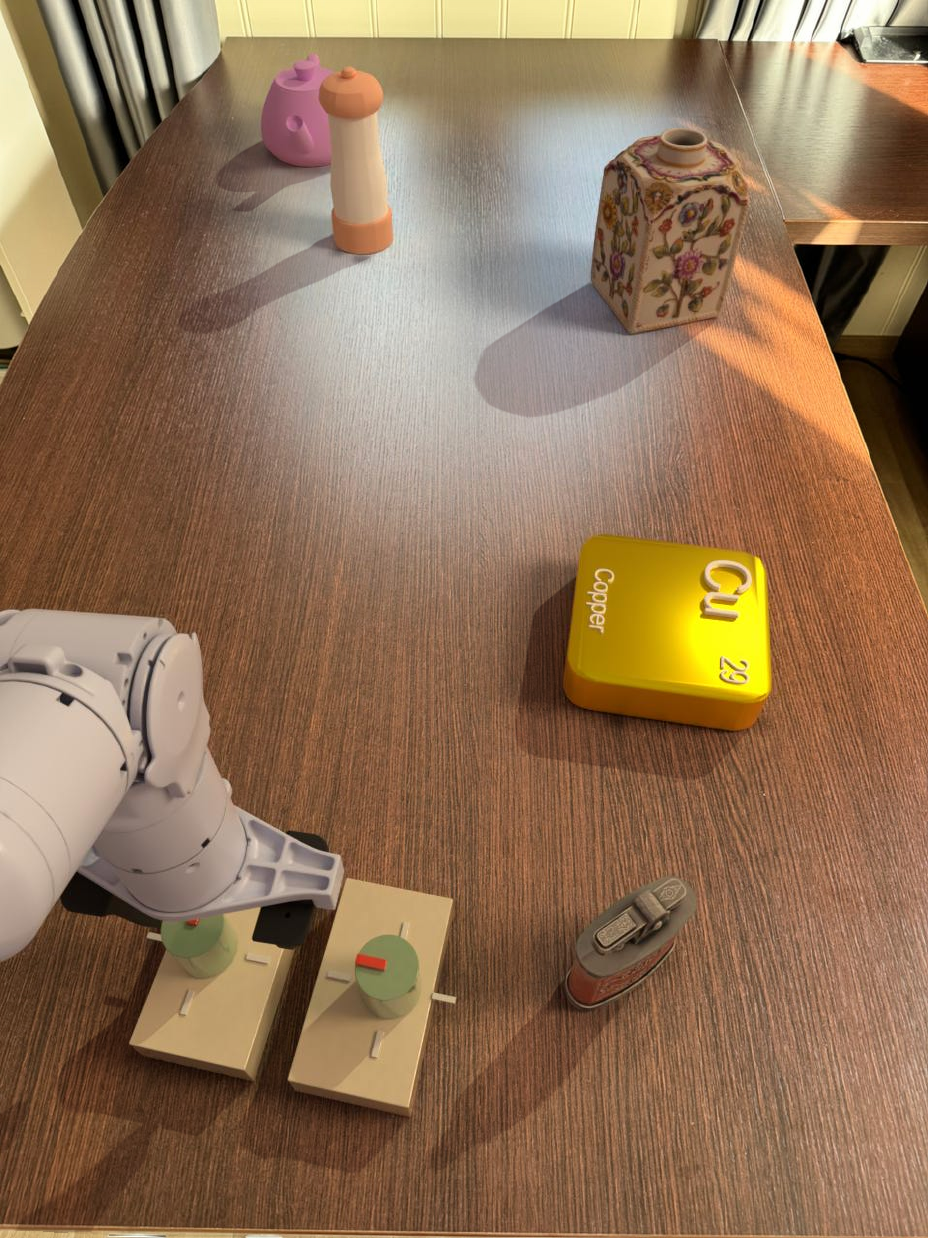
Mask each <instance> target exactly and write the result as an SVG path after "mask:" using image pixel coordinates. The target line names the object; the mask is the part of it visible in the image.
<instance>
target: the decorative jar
mask: <svg viewBox="0 0 928 1238" xmlns="http://www.w3.org/2000/svg"><path fill="white" fill-rule="evenodd" d="M741 163H742V162H741V161H740V160H739V159H738V158H737V157H736V156H735V155H734V154H733V153H732V152H731V151H730V150H729V149H728V148H727V147H725V146H724V145H723V144H721V143H720V142H717V141H714V140H709V139H708V137H707V136H706V135H705V134H704V133H703V132H701V131H699V130H696V129H693V128H687V127H672V128H668V129H665V130H663V131H662V132H661V133H660V135H659V134H658V135H651V136H643V137H640V138H638V139H636V140H635V141H634V142H633V143H631V145H629V146H627V148H626V149H624V150H622V151H620V152H619V153H618V154H617V155H616V156H615V157H614V159H612V160H610V161H608V163H607V164H606V165H605V166H604V168H603V175H602V180H601V187H600V194H599V201H598V202H599V203H598V208H597V215H596V222H595V228H594V229H595V230H594V237H593V247H592V257H591V265H590V277H589V278H590V282H591V284H592V285H593V287H595V289H596V290H597V292H598V293H599V294H600V296H601V297H602V299H603V300H604V301H605V303H606V304H607V305H608V307H609V308H610V310H611V311H612V312H613V314H614V315H615V316H616V317H617V319H618V320H619V321H620V323H621V325H622V326H623V327H624V328H625V330H626V331H627V332H628V333H629V334H630V335H634V334H640V333H643V332H650V331H655V330H660V329H666V328H671V327H677V326H680V325H686V324H689V323H694V322H699V321H704V320H709V319H715V318H718V317H719V316H720V315H721V314H722V311H723V309H724V305H725V302H726V298H727V296H728V292H729V288H730V285H731V281H732V278H733V272H734V269H735V264H736V260H737V256H738V253H739V250H740V249H739V248H740V246H741V241H742V237H743V233H744V229H745V226H746V221H747V217H748V212H749V208H750V203H751V196H750V194H749V189H748V184H747V183H748V182H747V181H746V179H745V175H744V172H743V167H742V164H741Z"/></svg>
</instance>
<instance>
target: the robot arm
mask: <svg viewBox="0 0 928 1238" xmlns="http://www.w3.org/2000/svg"><path fill="white" fill-rule="evenodd" d="M203 673H204V671H203V658H202V651H201V647H200V642H199V638H198V635H197V633H196V631H194V632H192V633H191V635H189V633H182V632H180V633H178V632H177V629H176V628H175V627H174V625H173V624H172V623H171V622H170V621H169V620H168V619H167V618H165V617H155V616H143V615H130V614H129V615H128V614H116V613H99V612H85V611H75V610H59V609H58V610H57V609H44V608H27V609H23V610H19V609H13V608H12V609H11V608H10V609H5V610H1V611H0V963H3V962H5V961H7V960H9V959H12V958H13V957H15V956H16V955H18V954H19V953H20V952H22V951H23V950H24V949H25V948H27V946H28V945H29V944H30V943H31V941H32V940H33V939H34V938H35V936H36V934H38V931H39V930H40V928H41V927H42V925H43V923H44V922H45V920H46V919H47V917H48V916H49V914H50V913H51V911H52V909H53V908H54V906H55V905H56V903H57V901H58V900H60V904H61V905H62V907H63V908H64V909H65V910H66V911H67V912H69V913H72V914H73V913H74V914H79V915H87V916H92V917H98V918H105V917H107V916H112V915H113V916H116V917H119V918H121V919H123V920H125V921H127V922H130V923H133V924H136V925H137V926H141V927H146V928H153V929H159V927H160V924H161V921H162V922H163V921H169V922H182V921H190V920H195V919H200V918H206V917H211V916H216V915H221V914H227V913H232V912H237V911H242V910H247V909H253V908H258V907H261V908H260V912H259V915H258V918H257V922H256V925H255V929H254V932H253V935H252V940H253V941H254V942H261V943H267V944H273V945H276V946H277V947H279V948H283V949H289V950H293V949H295V950H296V948H297V947H301V946H302V945H303V944H304V942H305V941H306V938H307V936H308V933H309V932H310V927H311V924H312V920H313V916H314V912H315V908H318V909H323V910H330V911H335V910H336V907H337V903H338V900H339V896H340V892H341V889H342V883H343V879H344V875H345V869H344V864H343V861H342V857H341V855H340V854H339V853H332V852H330V848H329V845H328V843H327V841H326V839H324V838H323V837H322V836H320V835H318V834H315V833H310V832H304V831H296V830H290V829H289V830H286V831H285V832H283V831H282V830H280V829H278V828H276V827H274V826H273V825H272V824H269V823H268V822H265V821H264V820H262V819H260V818H259V817H257V816H255V815H253V814H251V813H249V812H247V811H246V810H244V809H242V808H240V807H239V806H237V805H236V804H235V805H234V803H233V801H232V798H231V797H232V795H233V788H232V786H231V783H230V782H229V780H228V779H226V778H224V777H222V776H221V774H220V771H219V769H218V767H217V765H216V762H215V760H214V757H213V756H212V754H211V751H210V748H209V747H208V743H209V739H210V736H211V726H210V719H211V716H210V714H209V713H210V712H209V711H208V709H207V706H206V703H205V699H204V684H203V683H204V674H203Z"/></svg>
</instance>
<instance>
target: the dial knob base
mask: <svg viewBox="0 0 928 1238" xmlns="http://www.w3.org/2000/svg"><path fill="white" fill-rule="evenodd" d="M453 918H454V899H453V898H451V897H446V896H440V895H435V894H430V893H425V892H421V891H416V890H411V889H406V888H402V887H401V888H400V887H395V886H390V885H386V884H380V883H376V882H370V881H365V880H359V879H355V878H349V877H346V878H345V880H344V884H343V888H342V890H341V895H340V897H339V901H338V905H337V909H336V911H335V915H334V918H333V921H332V925H331V929H330V932H329V935H328V939H327V942H326V946H325V950H324V952H323V956H322V960H321V963H320V967H319V970H318V974H317V977H316V979H315V983H314V987H313V990H312V995H311V998H310V1000H309V1003H308V1004H309V1005H308V1008H307V1011H306V1015H305V1017H304V1022H303V1024H302V1028H301V1032H300V1035H299V1038H298V1042H297V1045H296V1049H295V1052H294V1056H293V1060H292V1062H291V1066H290V1069H289V1073H288V1076H287V1081H288V1083H289V1084H290V1086H291V1087H292V1088H293V1089H294V1091H295V1092H299V1093H303V1094H308V1095H312V1096H316V1097H320V1098H326V1099H330V1100H333V1101H338V1102H343V1103H347V1104H352V1105H356V1106H361V1107H364V1108H369V1109H372V1110H373V1109H374V1110H377V1111H380V1112H381V1111H382V1112H386V1113H390V1114H395V1115H399V1116H403V1117H407V1118H411V1117H412V1114H413V1109H414V1104H415V1099H416V1095H417V1090H418V1086H419V1080H420V1076H421V1071H422V1067H423V1062H424V1057H425V1052H426V1047H427V1043H428V1038H429V1033H430V1029H431V1028H430V1027H431V1023H432V1019H433V1014H434V1010H435V1006H436V1005H435V1004H436V1001H438V1002H443V1003H447V1004H453V1005H456V1001H457V996H452V995H448V994H443V993H438V990H439V985H440V982H441V977H442V971H443V967H444V963H445V962H444V961H445V958H446V952H447V947H448V942H449V938H450V933H451V929H452V924H453ZM381 935H396V936H399V937H402V938H404V939H405V940H407V941H408V942H409V943H410V944H411V945H412V946H413V948H414V949H415V951H416V953H417V956H418V960H419V967H420V975H421V985H422V987H421V994H420V998H419V1000H418V1002H417V1004H416V1005H415V1006H414V1008H413V1009H412V1010H411V1011H410V1012H409V1013H407V1014H406V1015H404V1016H402V1017H399V1018H396V1019H384V1018H380V1017H378V1016H376V1015H374V1014H373V1013H371V1012H370V1011H369V1010H368V1008H367V1007H366V1006H365V1004H364V1002H363V999H362V996H361V993H360V990H359V987H358V983H357V980H356V977H355V960H356V957H357V954H359V952H360V950H361V949H362V947H363V946H364V945H365V944H366V943H367V942H368V941H370V940H371V939H373V938H375V937H378V936H381Z"/></svg>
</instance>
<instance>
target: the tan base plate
mask: <svg viewBox="0 0 928 1238" xmlns="http://www.w3.org/2000/svg"><path fill="white" fill-rule="evenodd" d="M260 908H261V907H258V908H253V909H247V910H242V911H237V912H232V913H227V914H225V915H226V917H227V919H228V920H229V922H230V924H231V926H232V927H233V929H234V931H235V933H236V935H237V941H238V946H237V951H236V955H235V957H234V959H233V961H232V962H231V964H230V965H229V966H228V967H227V968H226V969H225V970H224V971H223V972H221V973H220V974H218V975H216V976H213V977H210V978H195V977H192V976H190V975H189V974H187V973H186V972H185V971H184V970H183V969H182V968H181V966H180V965H179V964H178V963H177V962H176V960H175V959H174V958H173V957H172V955H171V954H170V953H169V952H168V950H167V949H166V948H165V951H164V954H163V957H162V959H161V962H160V964H159V967H158V969H157V971H156V975H155V977H154V979H153V982H152V984H151V987H150V990H149V992H148V994H147V997H146V999H145V1001H144V1004H143V1006H142V1009H141V1011H140V1013H139V1014H140V1015H139V1017H138V1019H137V1022H136V1024H135V1027H134V1030H133V1032H132V1035H131V1037H130V1040H129V1041H128V1045H129V1046H131V1047H132V1048H133V1049H134V1050H136V1051H137V1052H138V1053H139V1054H141V1055H142V1056H143V1057H146V1058H150V1059H155V1060H159V1061H164V1062H168V1063H171V1064H177V1065H182V1066H186V1067H191V1068H195V1069H198V1070H203V1071H208V1072H212V1073H216V1074H221V1075H225V1076H229V1077H233V1078H238V1079H243V1080H247V1081H251V1082H254V1081H255V1079H256V1076H257V1073H258V1070H259V1067H260V1064H261V1060H262V1057H263V1054H264V1051H265V1048H266V1044H267V1042H268V1038H269V1034H270V1032H271V1028H272V1025H273V1021H274V1019H275V1017H276V1016H275V1015H276V1012H277V1009H278V1006H279V1003H280V1001H281V1000H280V999H281V996H282V994H283V993H282V992H283V990H284V987H285V983H286V980H287V976H288V974H289V971H290V967H291V965H292V962H293V958H294V955H295V951H296V948H295V949H293V950H289V949H283V948H279V947H277V946H276V945H273V944H267V943H261V942H254V941H253V940H252V935H253V932H254V929H255V925H256V922H257V918H258V915H259V912H260ZM146 939H149V940H152V941H156V942H160V943H163V942H162V939H161V933H156V932H151V931H148V933H147V935H146Z"/></svg>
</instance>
